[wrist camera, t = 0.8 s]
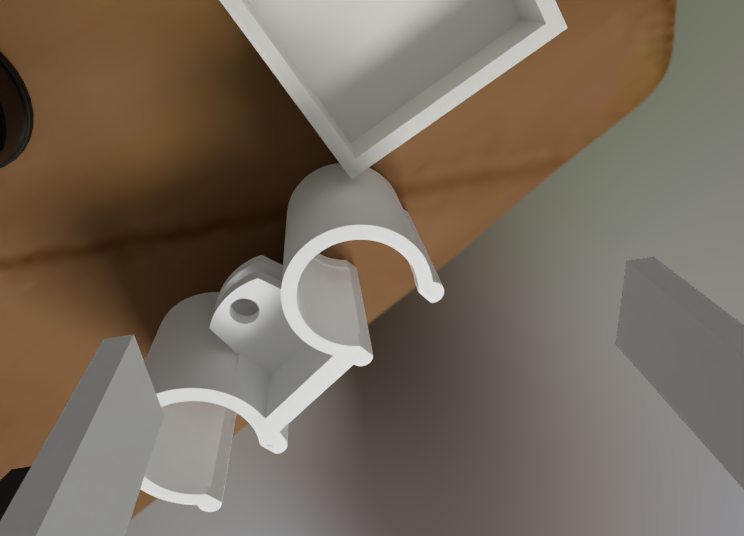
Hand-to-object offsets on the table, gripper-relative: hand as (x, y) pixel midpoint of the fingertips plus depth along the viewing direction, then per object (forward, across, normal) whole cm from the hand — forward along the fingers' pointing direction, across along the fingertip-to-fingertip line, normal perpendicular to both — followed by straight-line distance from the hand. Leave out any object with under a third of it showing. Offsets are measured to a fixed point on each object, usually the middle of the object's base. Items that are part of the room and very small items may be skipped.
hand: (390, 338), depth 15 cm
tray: (+27, +4, +8) cm, 29 cm away
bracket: (+28, -7, -12) cm, 31 cm away
